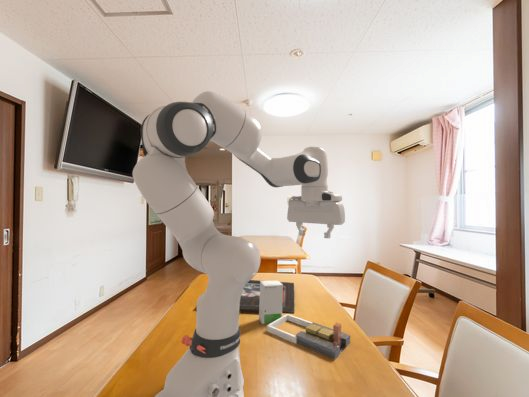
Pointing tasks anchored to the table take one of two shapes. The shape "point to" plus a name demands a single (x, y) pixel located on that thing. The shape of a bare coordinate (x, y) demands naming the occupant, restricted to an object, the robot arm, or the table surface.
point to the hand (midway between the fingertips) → (314, 236)
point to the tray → (283, 334)
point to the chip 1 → (313, 329)
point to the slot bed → (323, 343)
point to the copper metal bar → (337, 334)
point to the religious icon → (252, 297)
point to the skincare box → (270, 301)
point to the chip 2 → (326, 334)
